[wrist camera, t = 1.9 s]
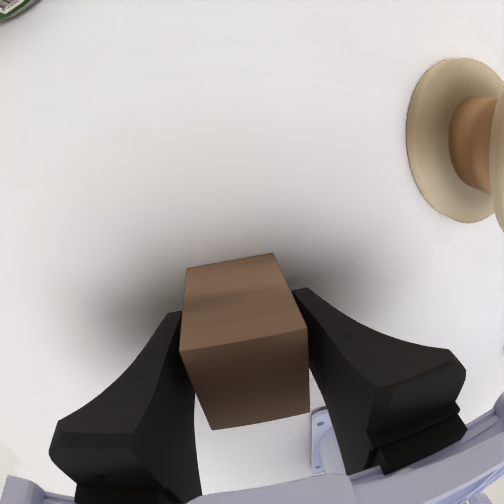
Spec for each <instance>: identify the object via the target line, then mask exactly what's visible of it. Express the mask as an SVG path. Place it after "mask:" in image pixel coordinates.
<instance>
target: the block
mask: <svg viewBox="0 0 504 504" xmlns="http://www.w3.org/2000/svg"><path fill="white" fill-rule="evenodd" d="M179 352H180V355H181V357H182V360H183V362H184V365H185V368H186V370H187V373H188V375H189V378H190V380H191V383H192V385H193V388H194V390H195V392H196V395H197V397H198V400H199V402H200V404H201V407H202V409H203V411H204V414H205V416H206V418H207V420H208V423H209V425H210V427H211V429H212V430H218V429H225V428H232V427H239V426H245V425H251V424H257V423H262V422H267V421H272V420H277V419H282V418H287V417H291V416H296V415H300V414H304V413H308V412H310V391H309V358H308V334H307V326H306V324H305V322H304V319H303V317H302V315H301V313H300V311H299V308H298V306H297V304H296V302H295V300H294V297H293V295H292V293H291V291H290V289H289V287H288V284H287V282H286V280H285V278H284V276H283V273H282V271H281V269H280V267H279V265H278V263H277V261H276V258H275V256H274V254H273V253H268V254H263V255H258V256H252V257H247V258H241V259H236V260H230V261H225V262H219V263H214V264H208V265H203V266H197V267H192V268H187V274H186V283H185V292H184V302H183V312H182V323H181V335H180V347H179Z"/></svg>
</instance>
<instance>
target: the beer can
mask: <svg viewBox="0 0 504 504" xmlns="http://www.w3.org/2000/svg"><path fill="white" fill-rule="evenodd" d="M36 1H37V0H0V21H1V20H5V19H7V18H10V17H12V16H15V15H17V14H19V13H21V12H22V11H24V10H25V9H27V8H28V7H30V6H31V5H32V4H34V3H35V2H36Z"/></svg>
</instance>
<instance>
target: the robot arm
mask: <svg viewBox="0 0 504 504" xmlns="http://www.w3.org/2000/svg"><path fill="white" fill-rule="evenodd" d="M292 295H293V297H294V300H295V302H296V304H297V306H298V308H299V311H300V313H301V315H302V317H303V319H304V322H305V324H306V326H307V334H308V358H309V368H310V370H311V372H312V374H313V376H314V379H315V381H316V383H317V385H318V387H319V389H320V391H321V394H322V396H323V399H324V401H325V404H326V407H327V409H325V410H321V411H318V412H316V413H314V414H313V415H312V447H311V471H312V473H313V474H318V473H322V472H325V475H319V476H313V477H309V478H304V479H300V480H296V481H291V482H286V483H281V484H276V485H271V486H265V487H259V488H253V489H246V490H239V491H230V492H221V493H214V494H208V495H202V490H201V484H200V477H199V470H198V462H197V453H196V444H195V432H194V406H195V390H194V388H193V385H192V383H191V380H190V378H189V375H188V373H187V370H186V368H185V365H184V362H183V360H182V357H181V355H180V352H179V347H180V335H181V323H182V312H183V311H177V312H171V313H167V315H166V316H165V318H164V319H163V321H162V322H161V324H160V325H159V327H158V328H157V330H156V331H155V333H154V334H153V336H152V337H151V339H150V340H149V342H148V343H147V344H146V346H145V347H144V349H143V350H142V351H141V353H140V354H139V355H138V356H137V358H136V359H135V360H134V362H133V363H132V364H131V365H130V366H129V367H128V368H127V369H126V371H125V372H124V373H123V374H122V375H121V376H120V377H119V378H118V379H117V380H116V381H115V382H113V383H112V384H111V385H110V386H109V387H108V388H107V389H105V390H104V391H103V392H102V393H101V394H100V395H98V396H97V397H96V398H94V399H93V400H92V401H90V402H89V403H87V404H86V405H85V406H83V407H82V408H80V409H78V410H77V411H75V412H73V413H72V414H70V415H68V416H66V417H65V418H63V419H61V420H59V421H58V423H57V426H56V429H55V432H54V435H53V438H52V441H51V445H50V448H49V456H50V458H51V460H52V461H53V463H54V464H55V465H56V466H57V467H58V468H59V469H60V470H62V471H63V472H64V473H65V474H66V475H67V476H68V477H70V478H71V479H72V480H73V481H74V482H76V483H77V486H76V492H75V497H71V496H66V495H60V494H55V493H50V492H46V491H44V490H43V489H42V488H41V487H40V486H38V485H37V484H36V483H34V482H32V481H30V480H27V479H23V478H20V477H16V476H12V475H8V476H7V479H6V482H5V486H4V489H3V493H2V497H1V500H0V504H466V501H467V500H468V501H469V503H470V504H492V503H491V501H490V500H489V498H488V497H487V496H486V494H484V493H479V492H481V491H482V490H483V489H485V488H486V487H488V486H489V485H491V484H492V483H493V482H494V481H496V480H497V479H499V478H500V477H501V476H503V475H504V392H503V393H502V394H501V395H500V396H499V398H498V399H497V401H496V402H495V404H494V407H493V408H492V409H491V410H489V411H488V412H486V413H484V414H483V415H481V416H480V417H478V418H476V419H475V420H473V421H471V422H469V423H468V424H466V425H465V424H464V423H463V421H462V420H461V418H460V417H459V415H458V414H457V413H459V411H460V408H459V406H458V405H457V404H456V402H455V401H456V399H457V397H458V395H459V393H460V391H461V389H462V386H463V384H464V381H465V378H466V369H465V368H464V366H463V365H462V364H461V363H460V361H459V360H458V359H457V358H456V357H455V355H454V354H453V353H452V352H451V351H450V350H449V349H442V348H435V347H428V346H423V345H418V344H414V343H410V342H406V341H403V340H399V339H396V338H393V337H391V336H388V335H385V334H382V333H380V332H377V331H375V330H373V329H371V328H369V327H367V326H364V325H362V324H361V323H359V322H357V321H355V320H353V319H352V318H350V317H348V316H346V315H345V314H343V313H342V312H340V311H339V310H337V309H336V308H334V307H333V306H331V305H330V304H329V303H327V302H326V301H325V300H323V299H322V298H320V297H319V296H318V295H317V294H315V293H314V292H313V291H311V290H310V289H309V288H303V289H298V290H293V291H292Z"/></svg>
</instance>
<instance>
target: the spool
mask: <svg viewBox="0 0 504 504" xmlns="http://www.w3.org/2000/svg"><path fill="white" fill-rule="evenodd" d="M406 142H407V152H408V158H409V163H410V167H411V170H412V174H413V176H414V179H415V181H416V184H417V186H418V188H419V190H420V191H421V193H422V195H423V196H424V198H425V199H426V200H427V202H428V203H429V204H430V205H431V206H432V207H433V208H435V209H436V210H437V211H439V212H440V213H442V214H444V215H446V216H448V217H450V218H452V219H453V220H455V221H459V222H462V223H474V222H478V221H481V220H483V219H485V218H487V217H489V216H490V215H492V214H493V213H494V212H495V215H496V218H497V220H498V223H499V225H500V227H501V229H502V230H503V232H504V82H503V81H502V79H501V78H500V77H499V76H498V75H497V74H496V73H495V72H494V71H493V70H492V69H491V68H490V67H488V66H487V65H485V64H484V63H482V62H480V61H477V60H474V59H469V58H458V59H448V60H444V61H441V62H439V63H437V64H435V65H434V66H432V67H431V68H430V69H429V70H428V71H427V72H426V73H425V74H424V75H423V76H422V78H421V79H420V81H419V83H418V84H417V86H416V88H415V91H414V93H413V96H412V99H411V102H410V106H409V111H408V116H407V126H406Z"/></svg>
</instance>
